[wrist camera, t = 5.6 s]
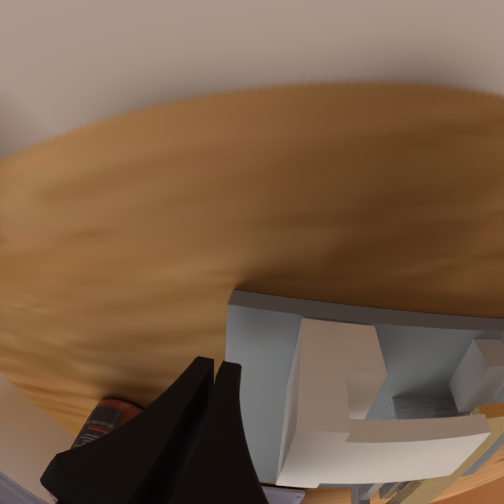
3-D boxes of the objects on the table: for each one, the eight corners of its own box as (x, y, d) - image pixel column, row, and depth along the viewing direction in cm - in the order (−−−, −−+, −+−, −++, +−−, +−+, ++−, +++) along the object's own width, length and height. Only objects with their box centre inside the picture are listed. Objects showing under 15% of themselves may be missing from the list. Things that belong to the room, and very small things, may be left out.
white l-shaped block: (421, 393, 13) (444, 480, 8) (287, 385, 14) (275, 484, 9) (454, 331, 11) (499, 422, 7) (301, 318, 12) (296, 429, 7)
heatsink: (440, 457, 16) (447, 490, 13) (351, 462, 16) (353, 500, 14) (491, 393, 13) (508, 430, 10) (392, 397, 14) (401, 444, 11)
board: (470, 464, 18) (482, 513, 13) (225, 463, 20) (208, 525, 15) (573, 321, 11) (615, 375, 6) (233, 289, 14) (194, 387, 8)
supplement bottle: (88, 407, 20) (23, 513, 10) (118, 384, 18) (38, 521, 8) (146, 449, 21) (99, 557, 11) (187, 434, 19) (136, 571, 9)
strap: (400, 513, 14) (401, 522, 13) (370, 516, 14) (370, 525, 14) (513, 400, 9) (519, 413, 8) (476, 405, 9) (482, 419, 8)
